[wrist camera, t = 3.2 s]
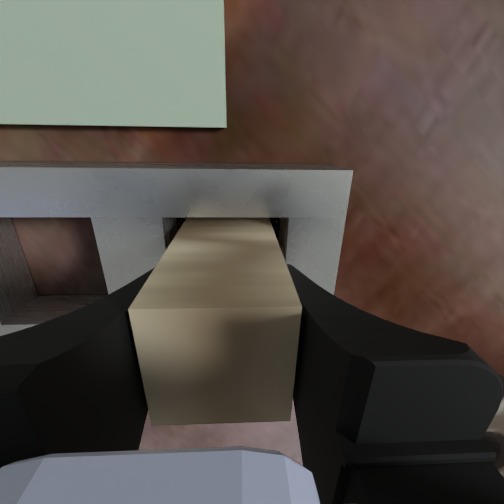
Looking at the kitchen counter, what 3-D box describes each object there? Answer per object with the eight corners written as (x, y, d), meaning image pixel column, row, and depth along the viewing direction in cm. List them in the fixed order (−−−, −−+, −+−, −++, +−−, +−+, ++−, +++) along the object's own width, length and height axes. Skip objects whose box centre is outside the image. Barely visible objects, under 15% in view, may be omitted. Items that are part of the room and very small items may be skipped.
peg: (194, 284, 15) (151, 425, 8) (188, 215, 13) (128, 309, 6) (265, 283, 15) (290, 421, 8) (268, 215, 14) (302, 306, 6)
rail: (5, 324, 15) (-36, 357, 13) (-66, 160, 12) (-139, 165, 10) (313, 319, 16) (325, 348, 14) (332, 164, 13) (353, 170, 10)
